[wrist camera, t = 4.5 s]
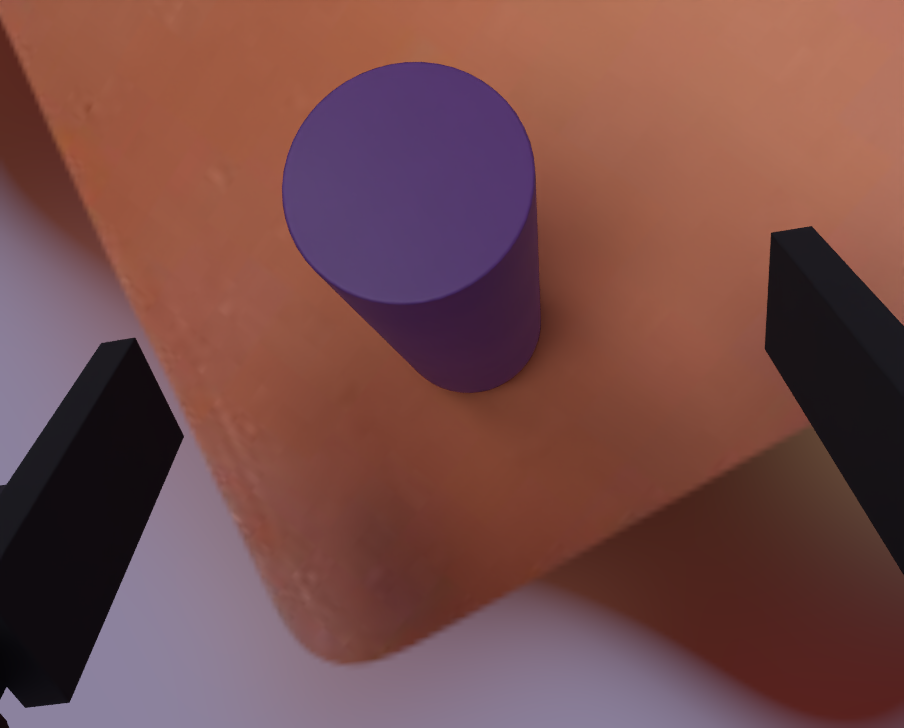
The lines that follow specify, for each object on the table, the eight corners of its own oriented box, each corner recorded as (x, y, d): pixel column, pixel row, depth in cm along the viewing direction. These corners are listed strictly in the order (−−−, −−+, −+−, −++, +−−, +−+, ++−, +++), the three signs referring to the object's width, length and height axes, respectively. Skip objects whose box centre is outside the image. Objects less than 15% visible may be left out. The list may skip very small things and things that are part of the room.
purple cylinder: (414, 406, 25) (294, 323, 13) (396, 275, 26) (269, 86, 14) (551, 385, 24) (554, 281, 13) (529, 252, 25) (513, 38, 13)
